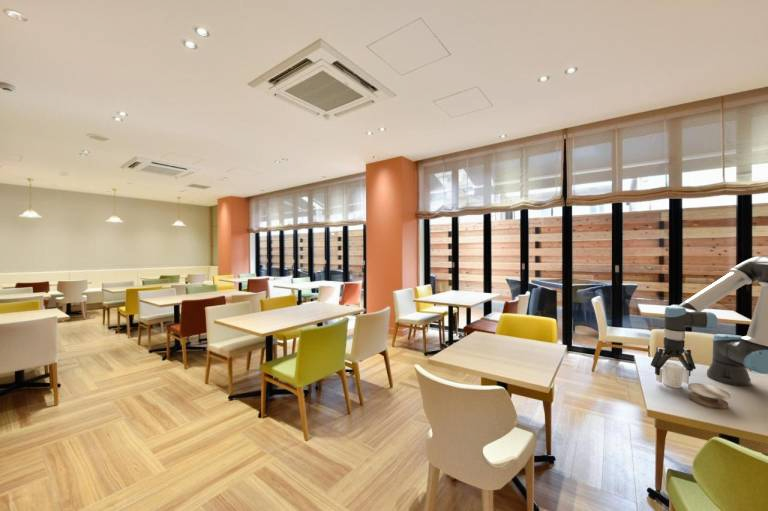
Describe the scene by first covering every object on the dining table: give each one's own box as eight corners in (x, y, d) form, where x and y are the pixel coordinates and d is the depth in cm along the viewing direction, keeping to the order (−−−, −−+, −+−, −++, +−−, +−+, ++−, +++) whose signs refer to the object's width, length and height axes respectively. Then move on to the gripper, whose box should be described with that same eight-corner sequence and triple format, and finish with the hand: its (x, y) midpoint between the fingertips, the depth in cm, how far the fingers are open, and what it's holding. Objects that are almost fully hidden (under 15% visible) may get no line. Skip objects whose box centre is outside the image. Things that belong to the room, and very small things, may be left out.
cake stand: (711, 395, 145) (711, 383, 144) (739, 410, 132) (739, 398, 131) (679, 394, 146) (680, 382, 146) (704, 408, 133) (705, 396, 133)
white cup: (687, 389, 150) (688, 369, 150) (668, 388, 152) (669, 367, 152) (675, 382, 158) (676, 362, 158) (657, 380, 160) (658, 361, 159)
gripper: (694, 336, 156) (692, 379, 157) (642, 335, 159) (640, 377, 160) (707, 341, 149) (705, 386, 150) (653, 339, 152) (651, 384, 153)
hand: (672, 381), depth 155 cm, fingers open, 11 cm apart
